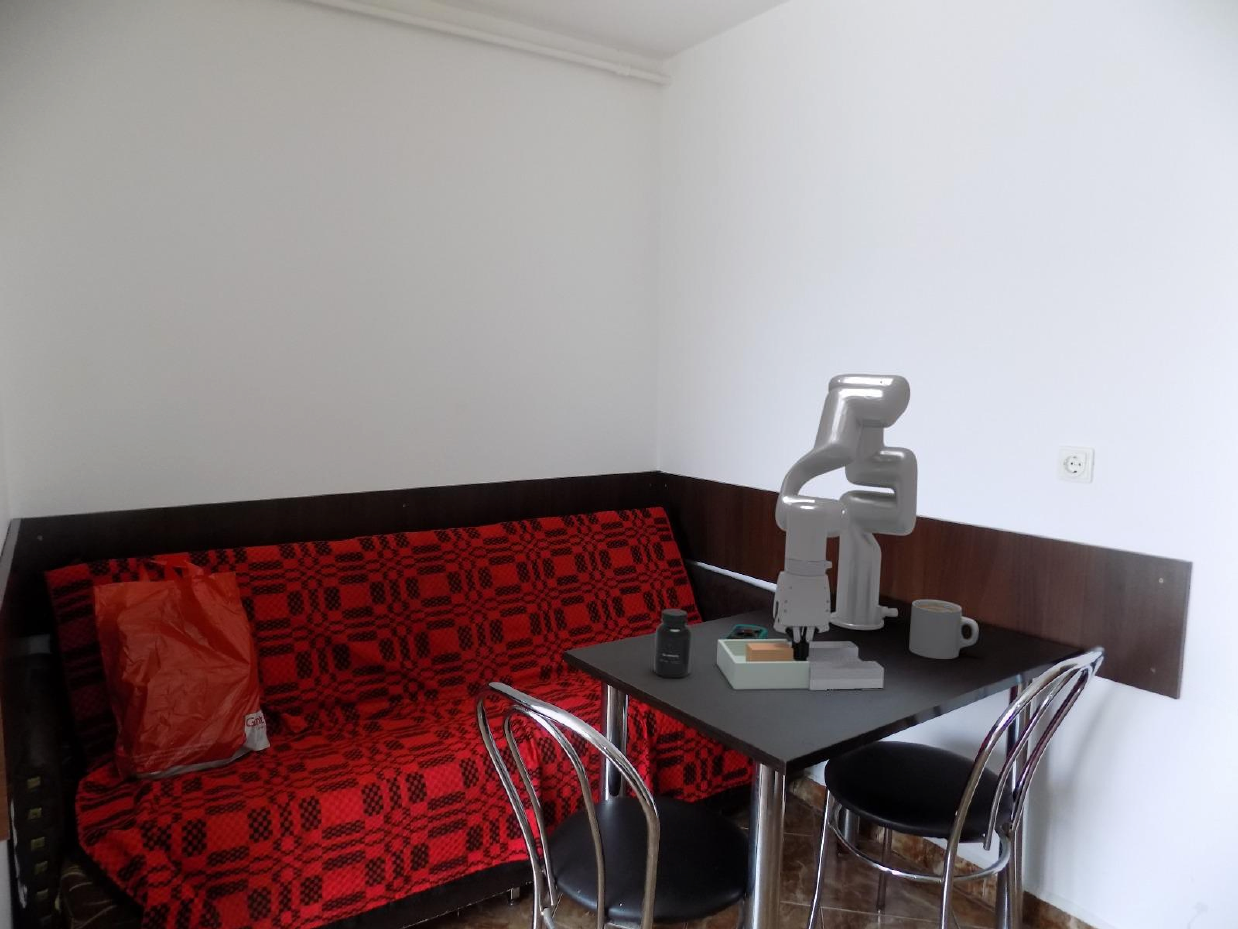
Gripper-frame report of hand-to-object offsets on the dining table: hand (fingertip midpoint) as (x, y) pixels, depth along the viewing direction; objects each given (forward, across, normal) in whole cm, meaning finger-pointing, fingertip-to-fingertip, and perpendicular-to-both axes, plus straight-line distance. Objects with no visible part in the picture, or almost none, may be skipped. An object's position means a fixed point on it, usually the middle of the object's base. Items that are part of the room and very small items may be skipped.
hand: (799, 660), depth 162 cm
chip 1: (+1, +8, 0) cm, 8 cm away
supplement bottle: (+3, +24, -2) cm, 25 cm away
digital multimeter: (+4, +6, -19) cm, 20 cm away
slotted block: (+3, -6, 0) cm, 7 cm away
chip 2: (+1, +4, 0) cm, 4 cm away
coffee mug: (+3, -36, -12) cm, 38 cm away
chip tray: (+3, +8, 0) cm, 8 cm away
